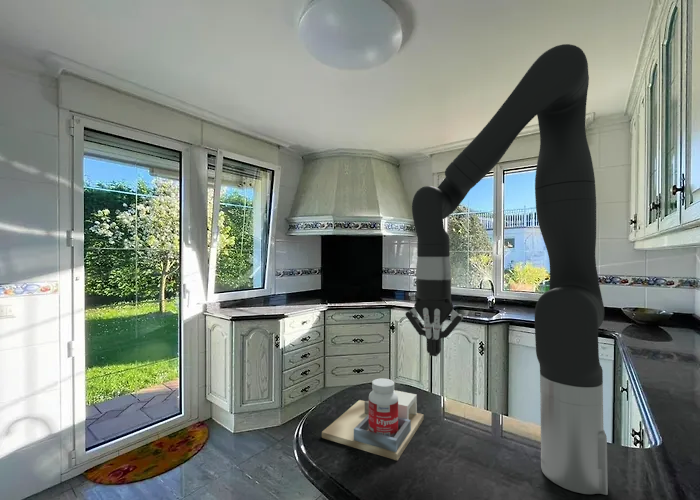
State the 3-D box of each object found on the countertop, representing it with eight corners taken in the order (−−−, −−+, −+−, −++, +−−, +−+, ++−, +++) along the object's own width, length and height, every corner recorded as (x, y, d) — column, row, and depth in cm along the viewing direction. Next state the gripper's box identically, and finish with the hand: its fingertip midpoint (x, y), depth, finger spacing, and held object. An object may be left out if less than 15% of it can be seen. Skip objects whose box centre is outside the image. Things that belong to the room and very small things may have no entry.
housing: (416, 413, 79) (416, 394, 79) (407, 427, 73) (407, 406, 73) (389, 407, 82) (389, 389, 82) (378, 419, 76) (378, 399, 76)
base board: (423, 419, 79) (423, 403, 79) (397, 460, 63) (397, 440, 63) (359, 404, 87) (359, 390, 87) (321, 437, 71) (321, 420, 71)
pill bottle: (374, 445, 66) (374, 389, 66) (364, 430, 71) (364, 378, 72) (403, 440, 67) (403, 385, 68) (390, 426, 73) (390, 375, 73)
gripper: (467, 277, 74) (467, 354, 74) (410, 275, 81) (410, 347, 80) (461, 279, 68) (461, 364, 67) (399, 277, 74) (399, 355, 74)
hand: (433, 355), depth 74 cm, fingers closed
